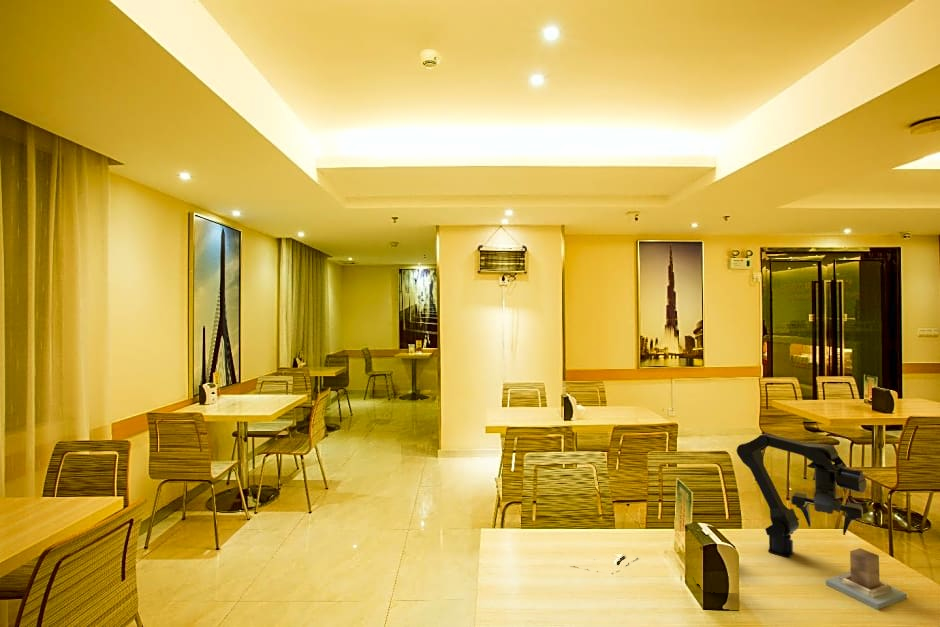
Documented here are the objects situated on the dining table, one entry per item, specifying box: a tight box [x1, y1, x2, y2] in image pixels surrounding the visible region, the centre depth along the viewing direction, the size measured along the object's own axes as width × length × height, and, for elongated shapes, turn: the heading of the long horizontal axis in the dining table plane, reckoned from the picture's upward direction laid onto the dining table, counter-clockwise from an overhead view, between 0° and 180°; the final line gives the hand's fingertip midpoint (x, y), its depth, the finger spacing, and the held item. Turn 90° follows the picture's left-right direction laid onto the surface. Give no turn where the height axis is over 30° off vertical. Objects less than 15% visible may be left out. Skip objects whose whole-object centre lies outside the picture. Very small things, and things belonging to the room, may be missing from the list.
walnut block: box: [849, 548, 881, 590], centre depth 146 cm, size 5×5×10 cm
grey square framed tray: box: [825, 571, 908, 610], centre depth 146 cm, size 14×14×3 cm
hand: (826, 530), depth 159 cm, fingers open, 9 cm apart
